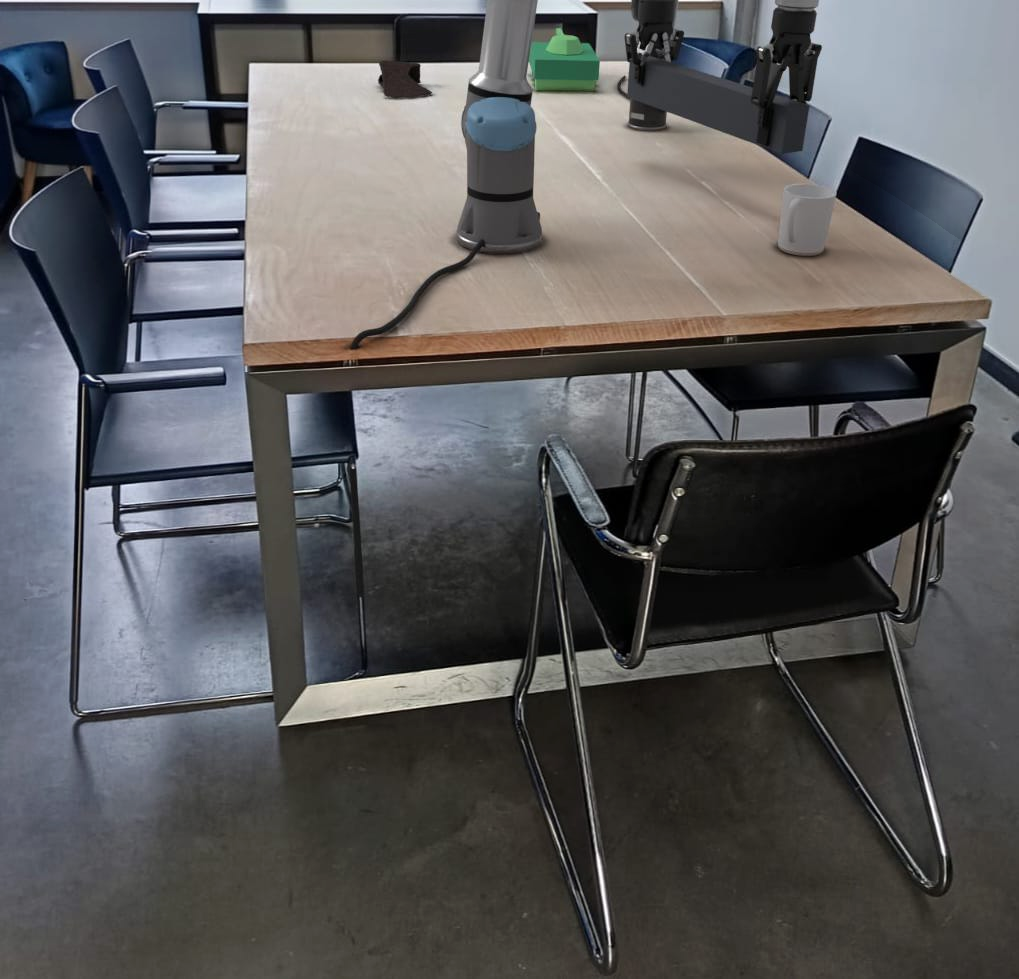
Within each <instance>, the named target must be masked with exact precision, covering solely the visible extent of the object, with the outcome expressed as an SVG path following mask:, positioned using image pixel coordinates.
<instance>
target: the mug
mask: <svg viewBox="0 0 1019 979" xmlns="http://www.w3.org/2000/svg"><path fill="white" fill-rule="evenodd" d="M782 192H783V194H782V202H781V203H782V204H781V212H780V222H779V232H778V242H777V246H778V249H779V250H780V251H782V252H784V253H786V254H789V255H795V256H802V257H811V256H818V255H820V254H822V253H823V252H824V250H825V248H826V242H827V238H828V233H829V229H830V225H831V220H832V215H833V211H834V207H835V203H836V198H837V191H836V190H835V189H833V188H831V187H829V186H826V185H822V184H821V185H820V184H815V183H792V184H788V185H786V186H785V187H784V188H783V191H782Z"/></svg>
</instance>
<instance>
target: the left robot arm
mask: <svg viewBox="0 0 1019 979" xmlns="http://www.w3.org/2000/svg"><path fill="white" fill-rule="evenodd" d="M538 2H539V0H487V3H486V9H485V16H484V17H485V18H484V26H483V34H482V42H481V48H480V49H481V51H480V57H479V65H478V71H477V72H476V73H475V74H473V75H472V76H470V78H468V85H467V93H466V101H465V105H464V107H463V111H462V114H461V120H460V126H461V132H462V136H463V138H464V142H465V147H466V192H467V193H466V198H465V202H464V205H463V209H462V211H461V214H460V218H459V220H458V224H457V228H456V241H457V243H458V244H459V245H461V246H462V247H464V248H466V249H468V250H470V252H469V253H468V255H467V256H466V257H465V258H463V259H462V260H460V261H458V262H456V263H453V264H450V265H448V266H445V267H442V268H440V269H438V270H437V271H434V272H433V273H432V274H431V275H430V276H429V277H428V278H427V279H426V280H424V282H423V283H422V284H421V285H420V286H419V287H418V288H417V290H416V291H415V293H414V294H413V296H412V298H411V299H410V301H409V302H408V304H407V306H405V308H404V309H403V310H402V311H401V312H399V314H398V315H396V316H395V317H394V318H393V319H391V320H390V321H388V322H386V323H385V324H384V325H382V326H380V327H376V328H370V329H366V330H362V331H361V332H359V333H357V335H356V336H355V337H354V339H353V340H352V342H351V344H350V346H349V350H350V351H354V350H356V349H358V346H359V345H360V343H361V342H362V341H363V340H364V339H366V338H368V337H369V338H370V337H373V336H380V335H382V334H385V333H387V332H388V331H390V330H391V329H393V328H394V327H395V326H397V325H398V324H399V323H400V322H402V321H403V320H404V319H405V318H406V317H407V316H408V315H409V314H410V313H411V312H412V311H413V309H414V308H415V307H416V305H417V303H418V302H419V299H420V298H421V297H422V295H423V294H424V293H425V291H426V290H427V289H428V288H429V286H431V284H433V283H434V282H435V280H437V279H438V278H440V277H441V276H444V275H446V274H448V273H451V272H454V271H456V270H459V269H461V268H463V267H465V266H467V265H468V264H470V262H472V261H473V259H474V258H475V256H476V255H477V253H478V252H479V253H486V254H497V255H499V254H500V255H506V254H507V255H508V254H517V253H524V252H527V251H530V250H533V249H536V248H538V247H539V246H540V245H541V244H542V243H543V229H542V224H541V213H540V212H539V211H538V210H537V206H536V204H535V199H534V184H535V181H534V180H535V148H536V147H535V146H536V133H537V128H538V127H537V121H536V113H535V110H534V109H533V107H532V106H531V105H532V100H533V99H532V98H533V92H534V89H533V87H532V86H531V83H530V82H529V81H528V79H527V75H528V68H529V64H530V63H529V56H530V49H531V42H533V36H534V29H535V28H534V27H535V21H536V14H537V8H538ZM774 4H775V5H776V6H777V7H775V8H774V9H773V11H772V19H771V25H770V29H771V32H772V36H771V38H770V40H769V42H768V44H766V45H764V46H760V45H759V46H757V47H756V49H755V56H756V65H755V73H754V77H753V82H752V88H753V89H752V96H751V103H752V104H755V105H756V106H758V107H759V112H758V120H757V125H758V126H759V128H758V135H757V141H756V143H759V144H762V145H764V146H769V142H770V136H771V129H772V123H773V116H774V110H775V109H772V108H771V106H772V103H773V100H774V98H775V95H777V91H778V89H779V86H780V83H781V80H782V77H783V74H784V72H785V71H786V70H787V69H788V83H789V84H788V85H789V86H788V88H789V99H791V100H794V101H798V102H801V103H804V104H808V103H809V102H811V101H812V98H813V92H814V84H815V79H816V74H817V67H818V66H817V65H818V60H819V56H820V55H821V52H822V49H823V45H822V44H819V43H814V42H812V39H811V34H813V33H814V32H815V28H816V23H817V21H816V20H817V15H818V12H817V10H815V9H816V8H818V7H819V4H820V0H774ZM807 102H808V103H807ZM348 470H349V482H350V483H349V484H350V497H351V511H352V523H353V534H354V535H353V536H354V548H355V562H356V577H357V578H356V579H357V580H356V581H357V595H358V598H364V597H365V583H364V566H363V564H364V563H363V551H362V537H361V525H360V524H361V523H360V522H361V521H360V513H359V512H360V511H359V496H358V495H359V494H358V483H357V482H358V480H357V469H356V468H349V469H348Z"/></svg>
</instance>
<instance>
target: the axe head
mask: <svg viewBox="0 0 1019 979" xmlns="http://www.w3.org/2000/svg"><path fill="white" fill-rule="evenodd" d="M378 66H379V68H380V72H381V74H379V75H378V79H377V84H378V85H379V86H380V87H381V88H382V89H383V95H384V96H385V97H388V98H394V99H395V98H396V99H403V98H405V99H406V98H407V99H411V98H418V97H425V96H429V95H432V94H433V91H431V90H430V89H428V88H427V87H425V86H422V85H421V84H422V82H421V63H419V62H410V61H408V62H407V61H397V60H388V59H387V60H380V61H379V62H378Z"/></svg>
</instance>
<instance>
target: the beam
mask: <svg viewBox="0 0 1019 979" xmlns="http://www.w3.org/2000/svg"><path fill="white" fill-rule="evenodd" d="M628 64H629V65H628V77H627V90H626V94H627V97H628V98H627V97H626V98H627V99H629V98H631V99H634V100H636V101H639V102H642V103H644V104H647V105H650V106H653V107H655V108H658V109H661V110H663V111H666V112H667V113H669V114H672V115H674V116H678V117H680V118H682V119H685V120H689V121H691V122H694V123H696V124H699V125H701V126H705V127H707V128H710V129H713V130H715V131H718V132H721V133H724V134H726V135H728V136H732V137H734V138H738V139H740V140H742V141H745V142H748V143H751V144H754V145H756V146H759V147H762V148H765V149H767V150H770V151H773V152H775V153H778V154H781V155H785V154H791V153H798V152H799V153H800V152H803V149H804V144H805V136H806V130H807V125H808V117H809V112H810V107H811V106H810V104H808V103H806V104H804V103H801V102H798V101H794V100H791V99H790V98H788V97H784V96H781V95H777V94H776V95H775V98H774V100H773V103H772V106H771V108H772V109H775V110H774V116H773V123H772V129H771V136H770V142H769V146H764V145H762V144H759V143H756V141H757V135H758V128H759V126H758V125H757V120H758V112H759V107H758V106H756V105H755V104H752V103H751V96H752V89H753V86H749V85H745V84H742V83H739V82H736V81H732V80H730V79H726V78H723V77H719V76H718V75H717V76H716V75H714V74H710V73H707V72H703V71H700V70H698V69H693V68H690V67H688V66H684V65H681V64H678V63H674V62H672V63H671V62H668V61H665V60H662V59H658V58H655V57H652V56H648V57H647V60H646V63H645V65H644V67H645V78H644V85H637V84H636V82H635V81H634V74H635V65H634V64H632V63H629V62H628Z"/></svg>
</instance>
